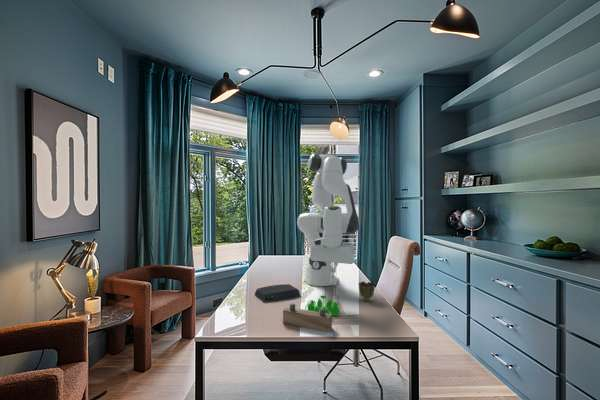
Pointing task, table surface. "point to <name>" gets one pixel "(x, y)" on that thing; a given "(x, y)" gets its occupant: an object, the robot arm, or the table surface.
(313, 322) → the walnut block
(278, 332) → the table surface
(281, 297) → the external hard drive
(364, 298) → the cup
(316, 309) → the chandelier
